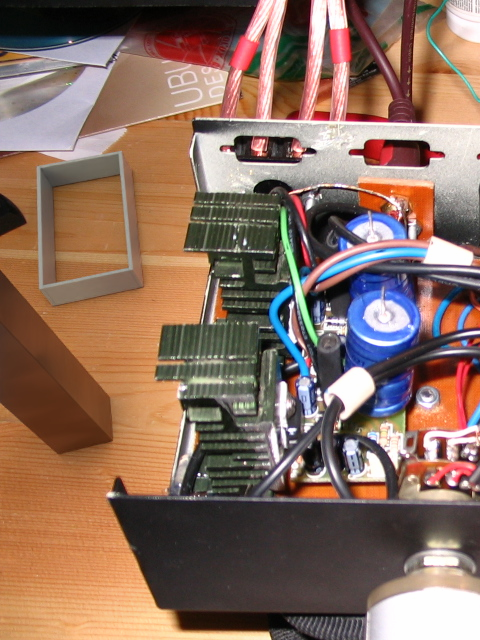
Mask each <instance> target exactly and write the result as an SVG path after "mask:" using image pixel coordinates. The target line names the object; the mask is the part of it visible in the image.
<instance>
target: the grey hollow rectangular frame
mask: <svg viewBox="0 0 480 640" xmlns="http://www.w3.org/2000/svg"><path fill="white" fill-rule="evenodd" d="M113 176H120V184H121V185H120V186H121V187H120V188H121V196H122V197H121V198H122V208H123V219H124V229H125V231H124V232H125V241H126V253H127V263H128V264H127V265H128V267H124V268H121V269H115V270H110V271H106V272H101V273H96V274H91V275H87V276H81V277H77V278H73V279H66V280H63V281H58V282H57V276H56V275H57V270H56V243H55V242H56V241H55V213H54V212H55V211H54V187H59V186H65V185H70V184H75V183H80V182H81V183H82V182H86V181H91V180H97V179H102V178H107V177H113ZM134 188H135V187H134V178H133V169H132V167H131V165H130V164H129V162H128V159H127V158H126V156H125V154H124V152H123V151H122V150H118V151H113V152H108V153H107V152H106V153H102V154H101V153H100V154H96V155H90V156H85V157H79V158H74V159H69V160H62V161H56V162H51V163H46V164H41V165H36V203H37V204H36V206H37V207H36V209H37V253H38V254H37V255H38V256H37V257H38V259H37V260H38V261H37V262H38V290H39V291H40V292H41V293H42V294H43V296H44V297H45V299H46V300H47V301H48V302H49V304H51V306H52V307H56V306H60V305H65V304H70V303H75V302H78V301H83V300H89V299H93V298H98V297H103V296H108V295H112V294H117V293H121V292H126V291H131V290H137V289H140V288H144V277H143V268H142V257H141V247H140V237H139V227H138V219H137V208H136V206H137V205H136V197H135V189H134Z"/></svg>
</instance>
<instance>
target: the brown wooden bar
mask: <svg viewBox="0 0 480 640" xmlns="http://www.w3.org/2000/svg"><path fill="white" fill-rule="evenodd" d="M0 404H1V406H3V407H4V408H5V409H6V410H7V411H8V412H9V413H11V415H13V416H14V417H15V418H16V419H17V420H19V421H20V423H22V424H23V425H24V426H25V427H26V428H28V430H30V431H31V432H32V433H33V434H35V435H36V436H37V437H38V438H39V439H40V440H41V441H42V442H43V443H44V444H46V445H47V447H49V448H50V449H51V450H52V451H54V453H56V454H57V455H61V454H64V453H68V452H72V451H77V450H80V449H85V448H89V447H93V446H96V445H101V444H106V443H111V442H113V440H114V439H113V426H112V425H113V424H112V411H111V397H110V396H109V394H108V393H107V392H106V391H105V389H103V387H102V386H101V385H100V384H99V383H98V381H97V380H96V379H95V378H94V377H93V376H92V374H91V373H90V372H89V371H88V370H87V368H86V367H85V366H83V364H82V363H81V361H79V360H78V359H77V357H76V356H75V355H74V354H73V352H72V351H71V350H70V349H69V347H68V346H66V344H65V343H64V342H63V341H62V340H61V338H60V337H59V336H58V335H57V333H55V332H54V330H53V329H52V328H51V327H50V325H49V324H48V323H47V322H46V321H45V320H44V319H43V318H42V316H41V315H40V314H39V313H38V312H37V310H36V309H35V308H34V307H33V306H32V304H30V302H29V301H28V300H27V299H26V298H25V297H24V295H23V294H22V293H21V291H19V289H18V288H17V287H16V286H15V285H14V284H13V283H12V282H11V280H10V279H9V278H8V276H7V275H5V273H4V272H3V271H2V270H1V269H0Z"/></svg>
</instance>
